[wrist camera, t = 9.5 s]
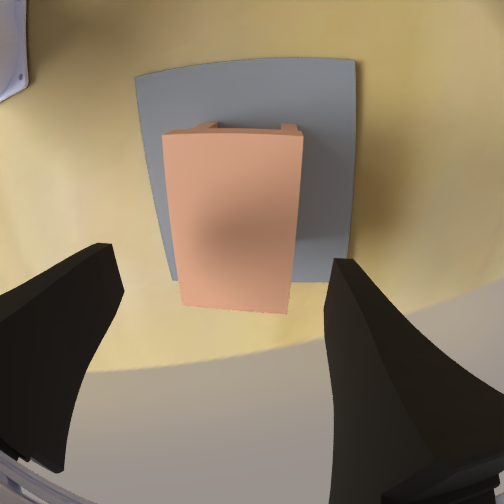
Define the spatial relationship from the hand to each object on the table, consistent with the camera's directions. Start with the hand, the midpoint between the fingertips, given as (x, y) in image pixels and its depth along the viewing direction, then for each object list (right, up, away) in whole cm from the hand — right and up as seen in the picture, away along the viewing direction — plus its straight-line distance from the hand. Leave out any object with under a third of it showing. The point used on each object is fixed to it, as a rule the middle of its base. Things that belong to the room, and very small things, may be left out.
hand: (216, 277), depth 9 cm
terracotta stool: (+1, +5, +8) cm, 9 cm away
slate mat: (+1, +5, +8) cm, 9 cm away
